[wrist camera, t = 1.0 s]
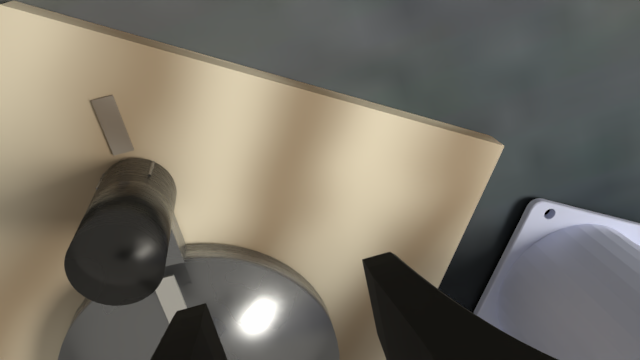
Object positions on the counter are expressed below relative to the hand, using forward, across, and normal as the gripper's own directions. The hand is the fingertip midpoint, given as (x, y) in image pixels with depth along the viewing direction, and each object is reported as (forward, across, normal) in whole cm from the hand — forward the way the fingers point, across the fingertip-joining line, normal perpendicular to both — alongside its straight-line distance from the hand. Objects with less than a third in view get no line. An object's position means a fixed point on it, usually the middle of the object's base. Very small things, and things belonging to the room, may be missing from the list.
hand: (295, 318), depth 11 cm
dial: (+9, +4, +6) cm, 12 cm away
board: (+10, +4, +8) cm, 14 cm away
